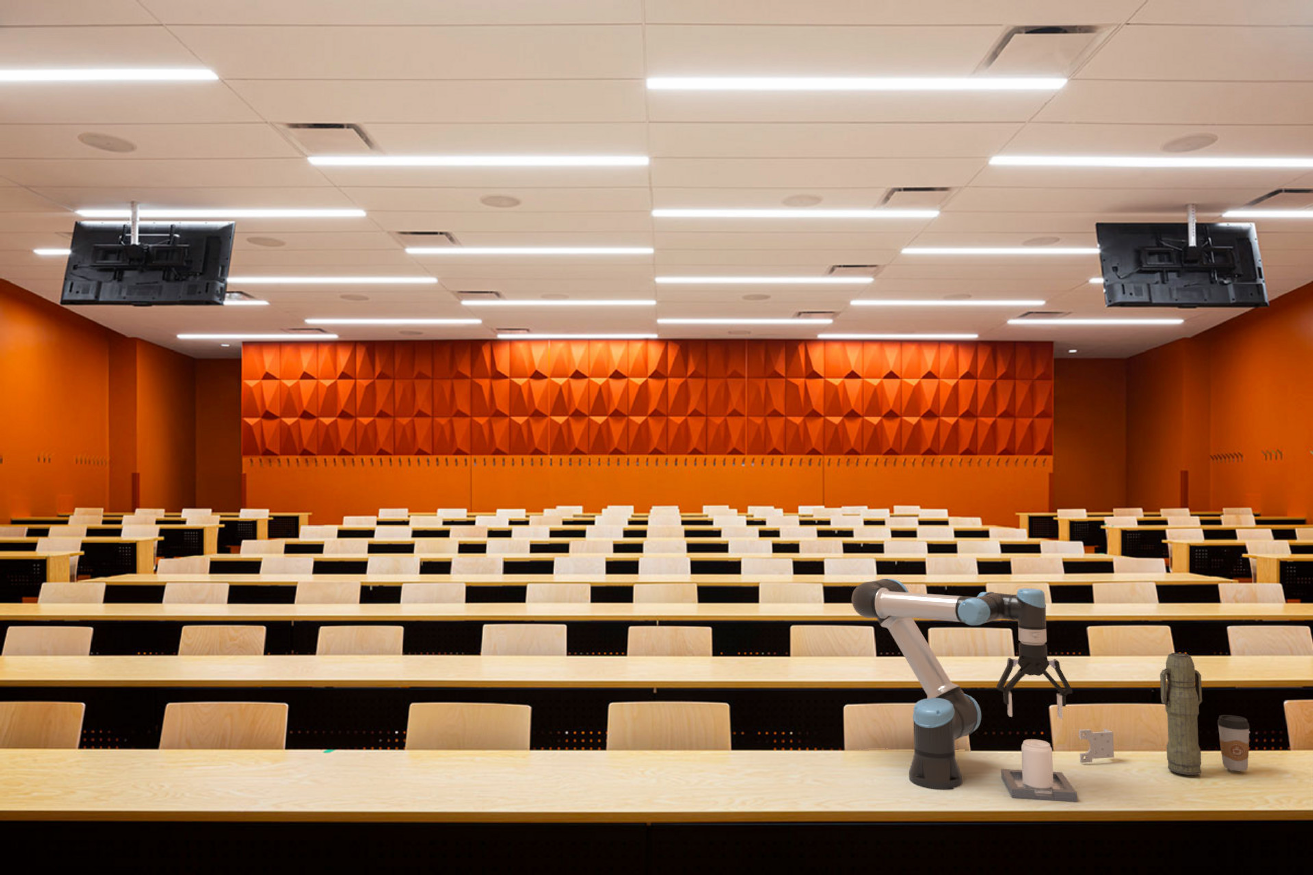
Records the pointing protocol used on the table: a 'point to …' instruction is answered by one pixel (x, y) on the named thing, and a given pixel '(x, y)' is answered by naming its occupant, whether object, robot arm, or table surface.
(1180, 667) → the thermos
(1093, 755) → the bracket
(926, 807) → the table surface
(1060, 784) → the chassis pocket
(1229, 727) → the coffee cup
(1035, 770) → the beverage can
